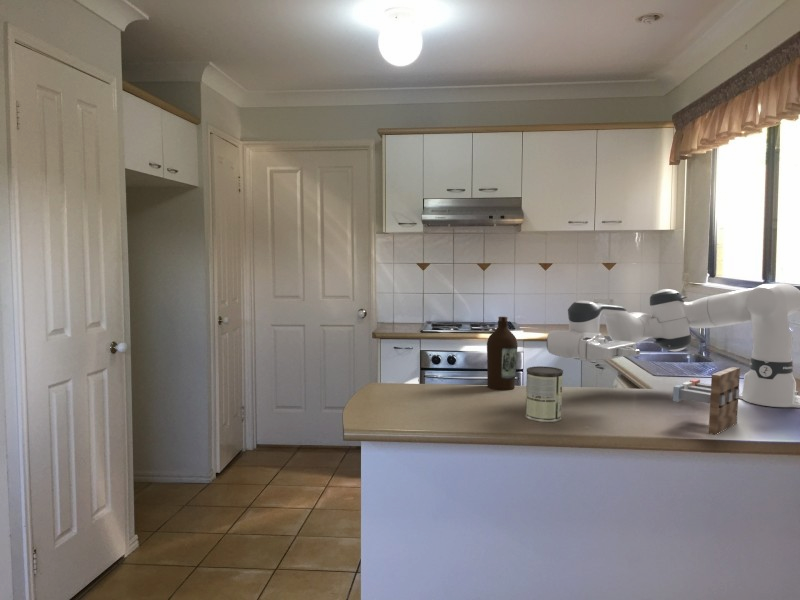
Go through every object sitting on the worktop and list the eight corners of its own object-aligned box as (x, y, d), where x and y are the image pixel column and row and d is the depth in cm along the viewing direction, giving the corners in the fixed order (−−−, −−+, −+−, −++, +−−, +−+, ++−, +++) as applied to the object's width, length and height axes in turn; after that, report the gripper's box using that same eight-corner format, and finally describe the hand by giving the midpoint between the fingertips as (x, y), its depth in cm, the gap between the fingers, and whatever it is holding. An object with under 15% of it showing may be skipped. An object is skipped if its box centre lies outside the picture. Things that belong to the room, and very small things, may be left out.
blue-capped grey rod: (678, 398, 180) (679, 384, 180) (725, 406, 171) (726, 392, 171) (672, 400, 177) (673, 386, 177) (720, 409, 168) (721, 394, 168)
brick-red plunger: (694, 392, 188) (694, 378, 188) (739, 399, 180) (740, 385, 179) (688, 394, 186) (689, 380, 185) (735, 401, 177) (735, 387, 176)
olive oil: (479, 386, 225) (481, 316, 223) (501, 383, 230) (503, 314, 228) (499, 392, 216) (502, 319, 214) (522, 388, 222) (524, 317, 220)
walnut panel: (729, 421, 182) (732, 366, 181) (736, 423, 181) (740, 367, 180) (708, 433, 170) (711, 374, 169) (716, 434, 169) (719, 375, 168)
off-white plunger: (686, 395, 184) (687, 381, 184) (732, 403, 175) (733, 388, 175) (681, 397, 181) (681, 383, 181) (727, 405, 173) (728, 390, 172)
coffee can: (521, 412, 189) (523, 366, 187) (555, 413, 189) (557, 366, 188) (529, 422, 178) (531, 372, 177) (565, 422, 179) (567, 373, 178)
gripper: (609, 354, 203) (652, 359, 193) (577, 361, 188) (621, 367, 178) (610, 334, 202) (653, 339, 192) (578, 340, 188) (622, 345, 178)
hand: (637, 353), depth 185 cm, fingers closed
